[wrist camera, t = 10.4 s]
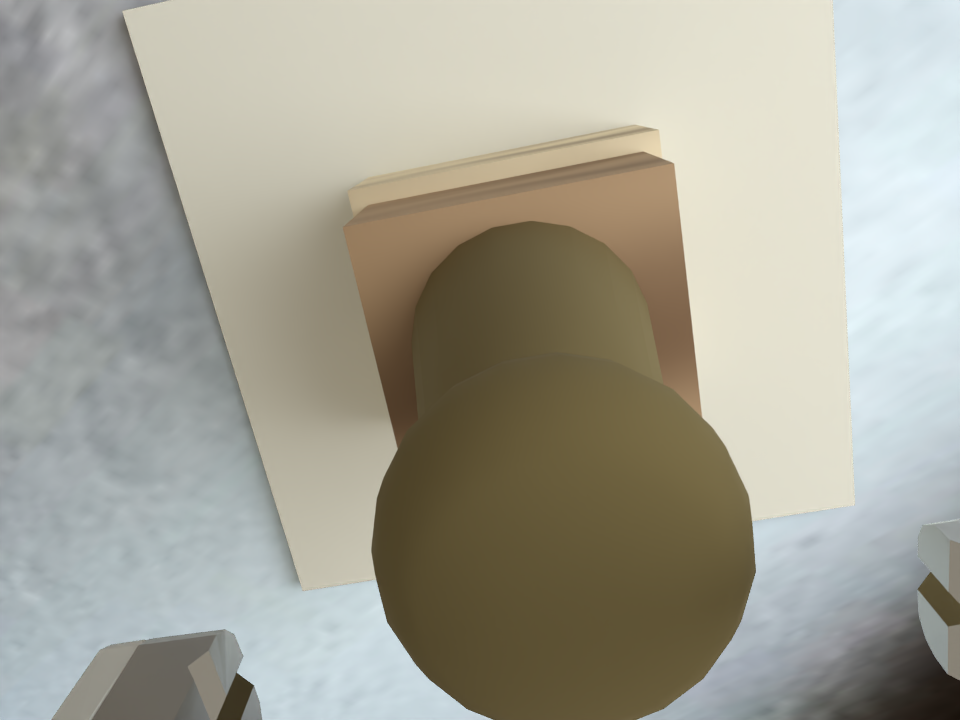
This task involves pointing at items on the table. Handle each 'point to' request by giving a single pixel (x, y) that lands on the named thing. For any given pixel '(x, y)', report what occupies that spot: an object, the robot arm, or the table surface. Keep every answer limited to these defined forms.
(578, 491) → the olive rounded upright piece
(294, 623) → the table surface
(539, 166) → the bottom block
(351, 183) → the felt mat
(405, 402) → the top block
